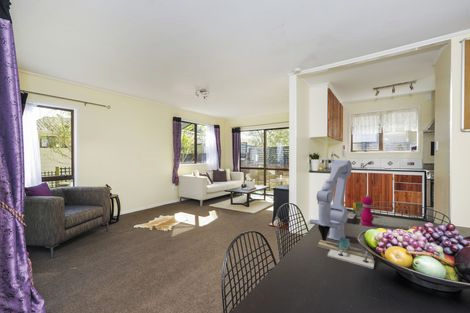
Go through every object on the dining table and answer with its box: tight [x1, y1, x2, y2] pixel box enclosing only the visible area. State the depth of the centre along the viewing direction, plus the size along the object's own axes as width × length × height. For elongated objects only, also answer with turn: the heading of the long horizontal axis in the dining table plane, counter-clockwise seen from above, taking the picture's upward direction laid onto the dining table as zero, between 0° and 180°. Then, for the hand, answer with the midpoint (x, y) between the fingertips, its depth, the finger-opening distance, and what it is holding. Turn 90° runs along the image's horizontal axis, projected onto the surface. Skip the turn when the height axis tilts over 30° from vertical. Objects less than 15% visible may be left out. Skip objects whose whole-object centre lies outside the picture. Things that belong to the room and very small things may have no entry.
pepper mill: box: [360, 194, 374, 227], centre depth 142 cm, size 7×7×20 cm
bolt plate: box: [326, 249, 375, 270], centre depth 97 cm, size 7×18×1 cm, turn 54°
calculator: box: [345, 212, 358, 225], centre depth 153 cm, size 11×4×15 cm
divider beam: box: [317, 239, 375, 261], centre depth 103 cm, size 11×24×5 cm, turn 54°
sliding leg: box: [338, 237, 351, 255], centre depth 103 cm, size 10×4×4 cm, turn 144°
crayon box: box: [352, 200, 364, 217], centre depth 163 cm, size 7×3×12 cm, turn 99°
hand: (324, 240), depth 111 cm, fingers closed
